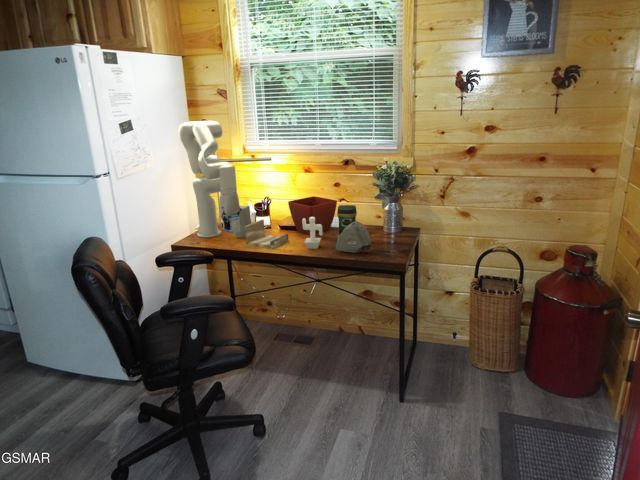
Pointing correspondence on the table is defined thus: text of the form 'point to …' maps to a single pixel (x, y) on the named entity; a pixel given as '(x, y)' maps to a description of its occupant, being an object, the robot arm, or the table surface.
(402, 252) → the table surface
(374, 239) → the table surface
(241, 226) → the skincare box
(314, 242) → the figurine
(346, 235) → the decorative rock
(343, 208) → the coffee jar
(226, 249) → the table surface
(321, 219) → the plant pot
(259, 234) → the grey angle bracket
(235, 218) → the medicine box
